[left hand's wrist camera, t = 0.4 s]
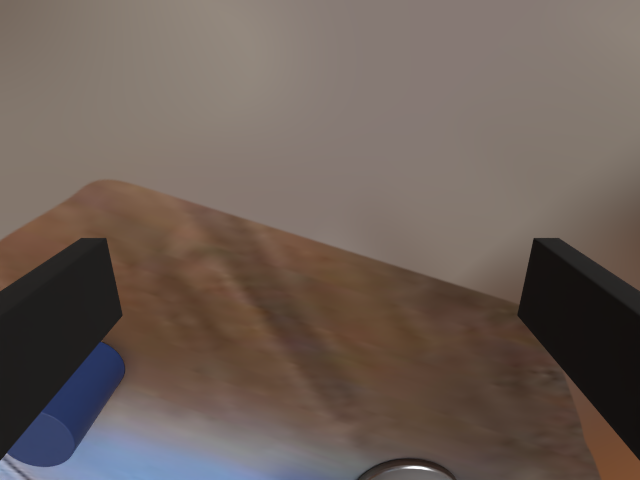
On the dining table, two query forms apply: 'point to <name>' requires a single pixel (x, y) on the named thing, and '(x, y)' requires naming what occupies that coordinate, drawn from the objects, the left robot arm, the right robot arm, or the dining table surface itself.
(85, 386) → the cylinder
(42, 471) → the dining table surface
